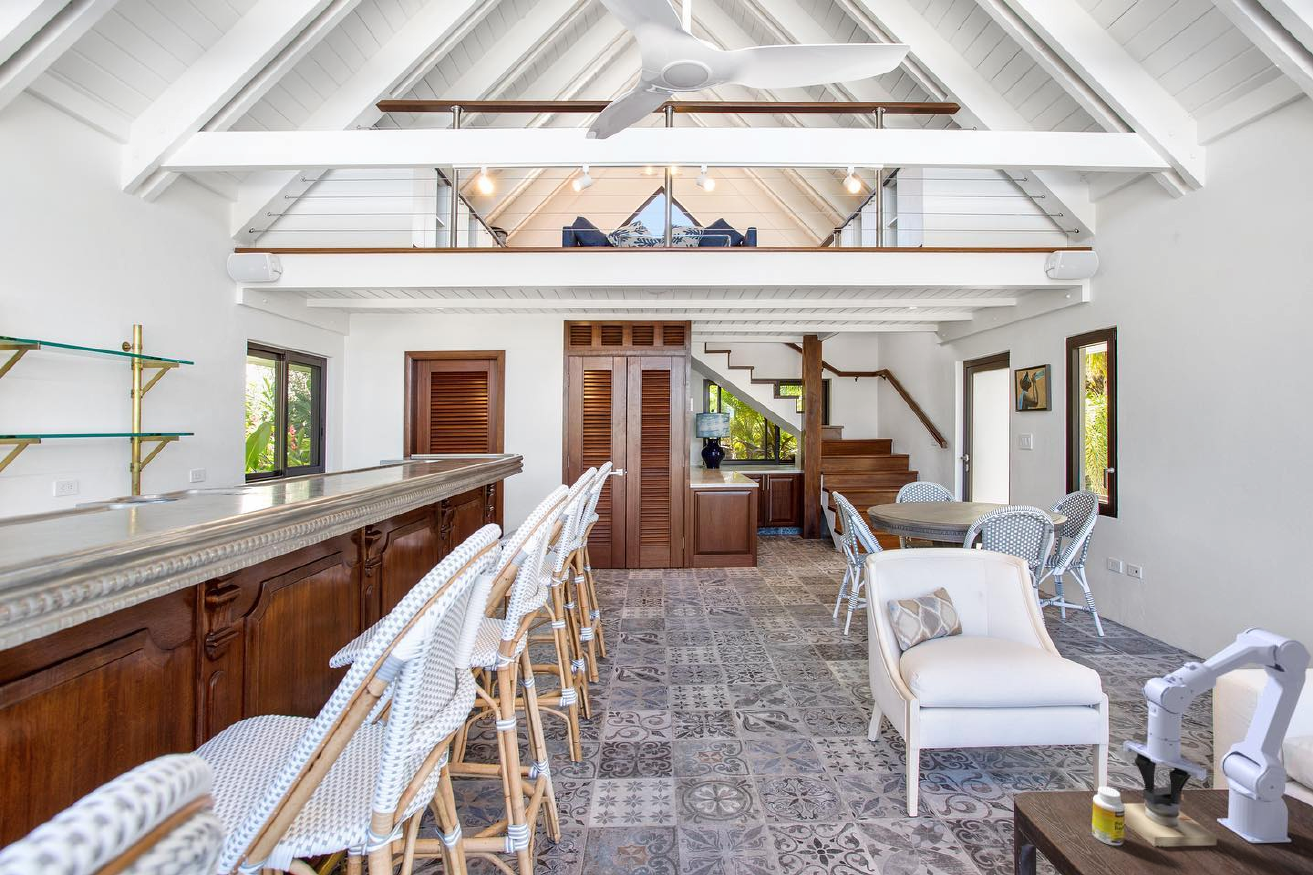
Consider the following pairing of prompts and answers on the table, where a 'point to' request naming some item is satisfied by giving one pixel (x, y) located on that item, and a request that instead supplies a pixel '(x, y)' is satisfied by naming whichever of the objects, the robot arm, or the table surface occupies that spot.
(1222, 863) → the table surface
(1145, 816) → the cream base plate
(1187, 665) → the robot arm
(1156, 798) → the rotary knob
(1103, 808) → the supplement bottle
